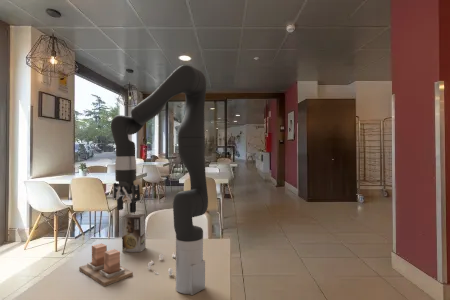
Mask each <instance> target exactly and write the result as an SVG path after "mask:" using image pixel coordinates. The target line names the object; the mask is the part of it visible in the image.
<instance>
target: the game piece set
mask: <svg viewBox="0 0 450 300" xmlns="http://www.w3.org/2000/svg"><path fill="white" fill-rule="evenodd" d="M158 256H159V261H162V260H164V259H163V258H164V254H162V253H161V254H159V255H158ZM171 257H172V258H176V251H173V253H172V255H171ZM152 265H154V261H153V260H151V261H148V263H147V269H148V270H149V271H150V270H151V268H152V267H151V266H152ZM153 272H154V275H160V273H159V272H156V271H155V270H153ZM167 272H168V276H169V277H171V276H172V275H173V272H174V270H173V268H170V267H169V268H168V270H167Z"/></svg>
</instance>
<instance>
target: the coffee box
mask: <svg viewBox="0 0 450 300" xmlns="http://www.w3.org/2000/svg"><path fill="white" fill-rule="evenodd" d="M121 231H122V232H121V233H122V234H121V235H122V236H121V237H122V239H121V241H122V250H121V251H122V252H131V253H132V252H133V253H134V252H135V253H139V252H140V253H141V252H142V251H144V250H145V249H146V247H147V246H146V213H126V214H124V215H123V216H122V217H121Z"/></svg>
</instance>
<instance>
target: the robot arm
mask: <svg viewBox="0 0 450 300" xmlns="http://www.w3.org/2000/svg"><path fill="white" fill-rule="evenodd" d="M206 78H207V77H206V76H205V74H204V73H203V72H202V71H201V70H199V69H197V68H196V67H194V66H191V65H188V64H182V65H179V66H178V67H176V69H175V70H173V71H172V72H171V73H170V75H169V76H168V77H167V78H166V79H165V80H164V81H163V82H162V83H161V84H160V85H159V86H158V87H157V88H156V89H155V90H154V91H152V93H151V94H150V95H149V96H147V97H146V98H145V99H143V100H142V101H140V102H139V103H138V104H137V105H135V106H133V108H131V110H130V114H131V115H130V116H129V115H122V114H119V115H118V114H117V115H115V116H114V117H113V118H112V120H111V123H110V130H111V135H112V137H113V141H114V144H115V165H114V166H115V168H114V169H115V171H114V172H115V173H114V174H115V179H114V180H115V181H116V182H113V194H112V195H113V197H112V198H113V199H115V201H116V208H117V210H118V211H123V210H124V197H125V196H126V198H127V199H128V200H129V201H128V202H129V214H135V213H136V212H137V202H139V201H140V200H141V194H140V193H141V191H140V190H141V189H140V184H135V181H137V159H136V143H135V142H134V141H132V140H130V139H129V135H131V136H132V135H135V134H137V133H138V132H140V131H141V129H142V128H143V127H144V126H145V124H146V123H147V122H149V121H150V120H152V119H153V118H155V117H156V116H157V115H158V114H160V113H161V111H162V110H163V109H164V108H165V105H166V104H167V103H168V102H169V100H171V99H172V98H174V97H176V96H178V95H179V94H185V95H184V96H185V111H184V115H183V118H182V120H181V122H180V125H179V128H178V133H177V152H178V155H179V157H180V160H181V161H182V163H183V165H184V166H185V168H186V170H187V172H188V175H189V176H188V177H189V182H190V189H189V190H182V191H179V192H177V193H176V194H175V196H174V198H173V200H172V201H173V203H172V212H173V228H174V232H175V233H174V234H175V254H176V257H175V290H176V292H178V293H180V294H183V295H190V296H193V295H195V294H197V293H199V292H200V291H203V290H204V289H206V260H204V229H203V228H202V227H201V226H199V225H198V226H197V225H194V223H193V218H195V217H196V218H197V217H200V216H203V215H204V214H206V212H207V211H208V207H209V195H208V185H207V178H206V177H207V176H206V175H207V174H206V138H205V137H206V134H205V105H206V103H205V102H206V92H207V79H206Z"/></svg>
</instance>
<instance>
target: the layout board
mask: <svg viewBox="0 0 450 300" xmlns="http://www.w3.org/2000/svg"><path fill="white" fill-rule="evenodd" d="M106 251H108V250H107V245H106V244H104V243H98V244H94V245H91V261H90V262H87V264H84V265H81V266H79V267H78V268H79V270H78V271H80V272H81V273H83V274H85V275H86V276H88V277H89V278H90V279H92V280H94V281H96V282H97V283H99V284H101V285H102V286H103V287H106V286H108V285H111V284H114V283H116V282H118V281H119V282H120V281H121V280H125V279H128V278H130V277H132V276H134V272H133V271H132V270H130V269H127V268H125V267H123V266H121V265H120V271H118V272H115V273H112V274H107V273H105V272H104V252H106Z"/></svg>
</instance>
